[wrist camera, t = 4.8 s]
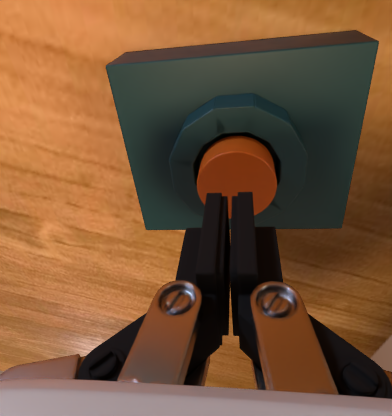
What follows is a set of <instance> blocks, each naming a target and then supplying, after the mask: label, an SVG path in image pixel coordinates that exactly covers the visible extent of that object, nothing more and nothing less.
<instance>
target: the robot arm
mask: <svg viewBox="0 0 392 416" xmlns="http://www.w3.org/2000/svg"><path fill="white" fill-rule="evenodd" d="M230 288H231V304H232V320H233V335H234V336H239V342H240V349H241V350H242V351H243V352H244V353H245V354H246V355H247V356H248V357H249V358H250V359H251V366H252V371H253V376H254V382H255V387H256V390H254V389H238V388H222V387H205V386H204V385H205V381H206V377H207V372H208V368H209V364H210V355H211V354H212V353H213V352H215V351H216V350H217V349H218V348H219V347H220V345H222V335H228V333H229V299H230ZM0 416H392V372H389V371H386V370H383V369H382V368H381V367H380V366H379V365H377V364H376V363H375V362H374V361H373V360H371V359H370V358H369V357H367V356H366V355H364V354H363V353H362V352H360V351H359V350H358V349H356V348H355V347H353V346H352V345H351V344H349V343H348V342H346V341H345V340H344V339H342V338H341V337H340V336H338V335H337V334H335V333H334V332H333V331H331V330H330V329H328V328H327V327H326V326H324V325H323V324H322V323H320V322H319V321H317V320H316V319H315V318H313V317H312V316H311V315H309V314H308V313H307V310H306V308H305V305H304V303H303V300H302V298H301V296H300V294H299V293H298V291H297V290H295V289H294V288H293V287H292V286H290V285H288V284H286V283H283V278H282V271H281V264H280V257H279V250H278V243H277V236H276V229H275V227H255V223H254V207H253V192H238V196H232V210H231V243H230V232H229V214H228V198H227V196H222V193H207V195H206V201H205V208H204V215H203V222H202V228H187V229H186V231H185V236H184V241H183V246H182V251H181V256H180V260H179V265H178V270H177V275H176V280H175V281H172V282H169V283H167V284H165V285H163V286H162V287H161V288H160V289H159V290H158V291H157V293H156V294H155V296H154V298H153V300H152V303H151V305H150V307H149V309H148V312H147V313H146V314H144V315H143V316H141V317H140V318H138V319H137V320H136V321H134V322H133V323H131V324H130V325H128V326H127V327H125V328H124V329H122V330H121V331H120V332H118V333H117V334H115V335H114V336H112V337H111V338H109V339H108V340H106V341H105V342H104V343H102V344H101V345H99V346H98V347H96V348H95V349H94V350H92V351H91V352H90V353H89V354H88V355H87V356H84V357H80V355H79V354H76V355H70V356H65V357H60V358H54V359H49V360H43V361H38V362H32V363H27V364H22V365H17V366H14V367H11V368H9V369H7V370H6V371H4V372H3V373H2V374H0Z"/></svg>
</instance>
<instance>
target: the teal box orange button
mask: <svg viewBox="0 0 392 416" xmlns="http://www.w3.org/2000/svg"><path fill="white" fill-rule="evenodd" d="M378 44H379V41H377V40H375V39H373V38H371V37H369V36H367V35H365V34H363V33H361V32H358V31H345V32H335V33H324V34H314V35H303V36H293V37H283V38H272V39H262V40H251V41H241V42H230V43H220V44H209V45H199V46H188V47H178V48H167V49H157V50H147V51H136V52H126V53H124V54H123V55H121V56H120V57H118V58H117V59H115V60H114V61H112V62H111V63H109V64H108V65H106V70H107V74H108V78H109V82H110V86H111V90H112V94H113V98H114V102H115V106H116V110H117V114H118V118H119V122H120V126H121V131H122V135H123V139H124V143H125V147H126V151H127V155H128V159H129V163H130V167H131V171H132V175H133V179H134V183H135V187H136V191H137V195H138V199H139V203H140V207H141V211H142V215H143V219H144V223H145V228H146V230H186V229H187V228H202V222H203V215H204V208H205V205H204V204H203V202H202V201H201V199H200V197H199V194H198V191H197V178H198V173H199V169H200V164H201V160H202V157H203V155H204V153H205V152H206V150H207V149H208V148H209V147H210V146H211V145H212V144H213V143H215V142H216V141H218V140H220V139H222V138H225V137H229V136H246V137H250V138H253V139H255V140H257V141H259V142H260V143H262V144H263V145H264V146H265V147H266V148H267V149H268V151H269V152H270V154H271V156H272V158H273V162H274V168H275V173H276V179H277V190H276V194H275V196H274V198H273V200H272V202H271V203H270V204H269V205H268V207H267V208H265V209H264V210H263V211H262V212H260V213H258V214H256V215H254V223H255V227H275V229H331V228H342V224H343V219H344V214H345V209H346V204H347V199H348V194H349V189H350V184H351V179H352V174H353V169H354V164H355V159H356V154H357V149H358V144H359V139H360V134H361V129H362V124H363V119H364V114H365V109H366V104H367V99H368V94H369V89H370V84H371V79H372V74H373V69H374V64H375V59H376V54H377V49H378ZM229 229H231V218H229Z"/></svg>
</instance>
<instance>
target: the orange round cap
mask: <svg viewBox="0 0 392 416" xmlns="http://www.w3.org/2000/svg"><path fill="white" fill-rule="evenodd" d="M276 190H277V179H276V173H275V168H274V162H273V158H272V156H271V154H270V152H269V151H268V149H267V148H266V147H265V146H264V145H263V144H262V143H260V142H259V141H257V140H255V139H253V138H250V137H246V136H229V137H225V138H222V139H220V140H218V141H216V142H215V143H213V144H212V145H211V146H210V147H209V148H208V149H207V150H206V152H205V153H204V155H203V157H202V160H201V164H200V169H199V173H198V178H197V191H198V194H199V197H200V199H201V201H202V202H203V204H204V205H205V201H206V195H207V193H222V196H227V198H228V214H229V218H231V210H232V196H238V192H253V207H254V215H256V214H258V213H260V212H262V211H263V210H264V209H265V208H267V207H268V205H269V204H270V203H271V202H272V200H273V198H274V196H275V194H276Z"/></svg>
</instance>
